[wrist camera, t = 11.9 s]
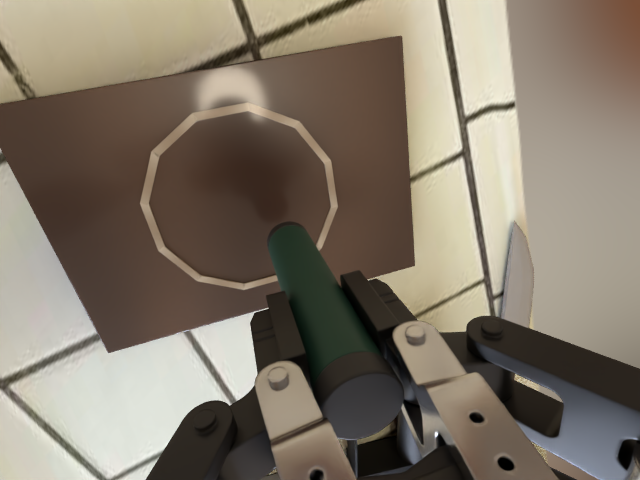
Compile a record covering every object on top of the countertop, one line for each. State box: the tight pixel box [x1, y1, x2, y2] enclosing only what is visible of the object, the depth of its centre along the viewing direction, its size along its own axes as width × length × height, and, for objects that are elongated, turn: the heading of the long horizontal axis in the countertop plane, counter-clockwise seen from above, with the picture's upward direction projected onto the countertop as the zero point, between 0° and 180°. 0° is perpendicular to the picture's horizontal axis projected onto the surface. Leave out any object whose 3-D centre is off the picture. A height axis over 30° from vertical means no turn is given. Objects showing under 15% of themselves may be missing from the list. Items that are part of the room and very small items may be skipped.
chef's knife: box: [501, 221, 534, 328], centre depth 31 cm, size 19×1×3 cm
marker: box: [267, 221, 404, 440], centre depth 14 cm, size 2×2×11 cm
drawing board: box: [0, 36, 415, 353], centre depth 21 cm, size 20×14×1 cm
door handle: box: [261, 409, 422, 480], centre depth 31 cm, size 3×20×16 cm
